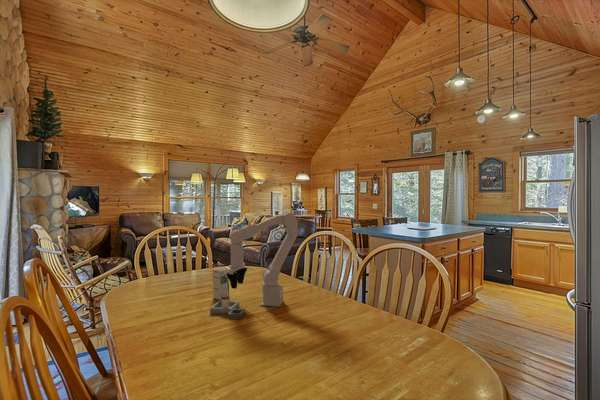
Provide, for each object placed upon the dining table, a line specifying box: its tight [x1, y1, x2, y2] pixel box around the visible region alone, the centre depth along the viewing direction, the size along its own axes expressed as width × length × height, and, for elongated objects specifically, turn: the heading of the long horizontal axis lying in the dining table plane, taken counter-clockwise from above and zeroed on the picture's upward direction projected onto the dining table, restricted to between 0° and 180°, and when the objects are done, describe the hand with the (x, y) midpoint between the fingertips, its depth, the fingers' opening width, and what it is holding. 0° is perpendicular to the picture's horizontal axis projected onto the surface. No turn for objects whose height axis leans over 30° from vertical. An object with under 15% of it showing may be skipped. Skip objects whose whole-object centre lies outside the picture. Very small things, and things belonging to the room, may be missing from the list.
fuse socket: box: [227, 308, 246, 320], centre depth 130 cm, size 6×6×2 cm
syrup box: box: [212, 267, 230, 301], centre depth 154 cm, size 6×6×14 cm
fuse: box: [221, 291, 230, 308], centre depth 137 cm, size 3×3×7 cm
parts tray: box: [209, 299, 240, 316], centre depth 137 cm, size 10×10×2 cm
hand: (237, 285), depth 142 cm, fingers open, 7 cm apart
